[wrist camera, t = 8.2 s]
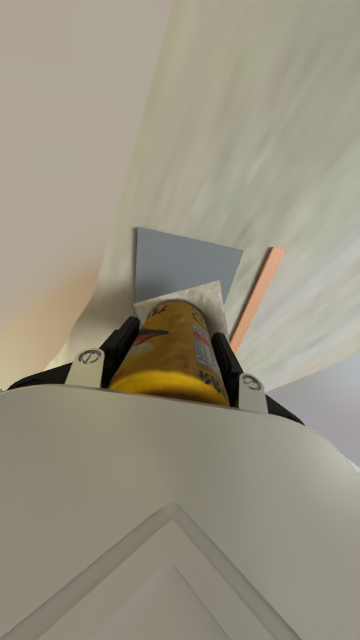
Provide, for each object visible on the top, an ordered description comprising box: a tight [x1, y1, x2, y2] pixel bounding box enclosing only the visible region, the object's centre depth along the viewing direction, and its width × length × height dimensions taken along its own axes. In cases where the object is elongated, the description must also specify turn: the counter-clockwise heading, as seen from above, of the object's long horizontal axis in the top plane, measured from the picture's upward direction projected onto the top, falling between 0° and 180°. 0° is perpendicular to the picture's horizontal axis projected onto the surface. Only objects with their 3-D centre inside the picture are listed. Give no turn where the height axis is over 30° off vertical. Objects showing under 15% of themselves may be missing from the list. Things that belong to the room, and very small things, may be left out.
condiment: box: [107, 280, 230, 407], centre depth 9 cm, size 7×8×12 cm
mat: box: [134, 227, 243, 331], centre depth 19 cm, size 16×12×1 cm
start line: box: [230, 247, 286, 354], centre depth 20 cm, size 18×2×1 cm, turn 169°
